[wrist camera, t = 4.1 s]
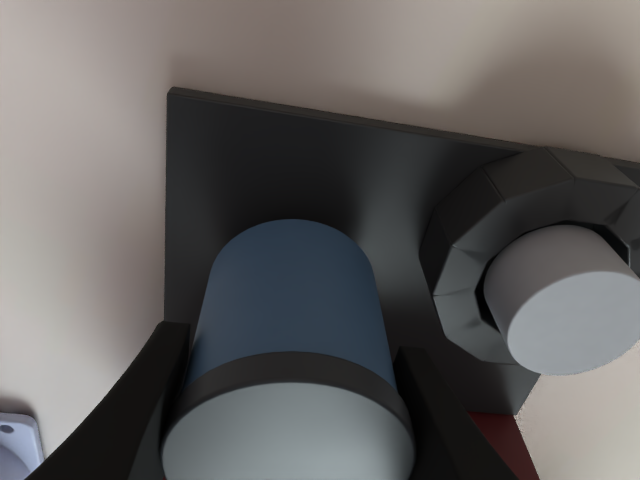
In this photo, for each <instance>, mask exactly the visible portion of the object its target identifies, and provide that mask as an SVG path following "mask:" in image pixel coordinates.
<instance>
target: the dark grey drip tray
mask: <svg viewBox="0 0 640 480" xmlns="http://www.w3.org/2000/svg"><path fill="white" fill-rule="evenodd" d="M282 219H299V220H308V221H314V222H318V223H321V224H324V225H328V226H330V227H332V228H334V229H337V230H339V231H340V232H342V233H343V234H345V235H347V236H348V237H349V238H350V239H352V240H353V241H354V242H355V243H356V244H357V245H358V246H359V247H360V248H361V249H362V250H363V252H364V253H365V255H366V256H367V257H368V259H369V262H370V264H371V266H372V269H373V273H374V277H375V282H376V287H377V291H378V296H379V301H380V306H381V311H382V316H383V321H384V326H385V331H386V336H387V341H388V346H389V350H390V355H391V360H392V365H393V363H394V360H395V357H396V354H397V352H398V349H399V346H407V347H416V348H424V349H425V350H426V352H427V353H428V355H429V356H430V358H431V359H432V361H433V362H434V364H435V365H436V367H437V368H438V370H439V371H440V373H441V374H442V376H443V377H444V379H445V380H446V382H447V383H448V385H449V386H450V388H451V389H452V391H453V392H454V394H455V395H456V397H457V398H458V400H459V401H460V403H461V404H462V406H463V407H464V408H465V410H466V411H473V412H484V413H495V414H506V415H517V413H518V411H519V410H520V408H521V406H522V405H523V403H524V402H525V400H526V398H527V397H528V395H529V393H530V392H531V390H532V388H533V387H534V385H535V383H536V382H537V380H538V378H539V377H540V375H541V374H540V373H537V372H533V371H531V370H529V369H527V368H525V367H523V366H522V365H520V364H519V363H518V362H517V361H516V360H515V359H514V358H513V357H512V355H511V353H510V352H509V350H508V348H507V345H506V343H505V341H504V339H503V337H502V335H501V333H500V330H499V328H498V326H497V324H496V322H495V320H494V318H493V315H492V313H491V311H490V309H489V307H488V305H487V302H486V300H485V297H484V281H485V276H486V274H487V271H488V269H489V267H490V265H491V263H492V262H493V260H494V259H495V258H496V256H497V255H498V254H499V253H500V252H501V251H502V250H503V249H504V248H505V247H506V246H508V245H509V244H510V243H512V242H513V241H514V240H516V239H518V238H519V237H521V236H523V235H525V234H527V233H529V232H531V231H534V230H537V229H540V228H544V227H548V226H554V225H575V226H580V227H584V228H587V229H590V230H592V231H594V232H596V233H597V234H599V235H600V236H601V237H602V238H603V239H604V240H605V241H606V242H607V243H608V244H609V245H610V246H611V248H612V249H613V250H614V251H615V252H616V253H617V254H618V255H619V256H620V258H621V259H622V260H623V261H624V262H625V263H626V264H627V265H628V266H629V267H630V269H631V270H632V271H633V272H634V273H635V274H636V275H637V276H638V277H639V279H640V163H637V162H631V161H624V160H618V159H612V158H606V157H602V156H600V155H596V154H590V153H584V152H577V151H571V150H565V149H559V148H553V147H547V146H545V147H539V146H532V145H526V144H520V143H514V142H508V141H502V140H496V139H489V138H483V137H477V136H471V135H465V134H459V133H453V132H447V131H440V130H434V129H428V128H422V127H416V126H410V125H404V124H397V123H391V122H385V121H379V120H373V119H367V118H361V117H354V116H348V115H342V114H336V113H330V112H324V111H318V110H312V109H305V108H299V107H293V106H287V105H281V104H275V103H269V102H262V101H256V100H250V99H244V98H238V97H232V96H226V95H220V94H213V93H207V92H201V91H195V90H189V89H183V88H177V87H172V88H171V89H170V90H169V92H168V93H167V127H166V207H165V287H164V321H169V322H178V323H188V324H190V341H189V359H190V354H191V350H192V346H193V342H194V338H195V334H196V329H197V325H198V321H199V317H200V313H201V309H202V305H203V300H204V296H205V292H206V288H207V284H208V280H209V275H210V271H211V268H212V266H213V263H214V261H215V259H216V257H217V255H218V254H219V253H220V251H221V250H222V249H223V247H224V246H225V245H226V244H227V243H228V242H229V241H230V240H232V239H233V238H234V237H236V236H237V235H239V234H240V233H242V232H244V231H245V230H247V229H249V228H251V227H254V226H256V225H259V224H262V223H266V222H270V221H276V220H282ZM188 363H189V360H188Z"/></svg>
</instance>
